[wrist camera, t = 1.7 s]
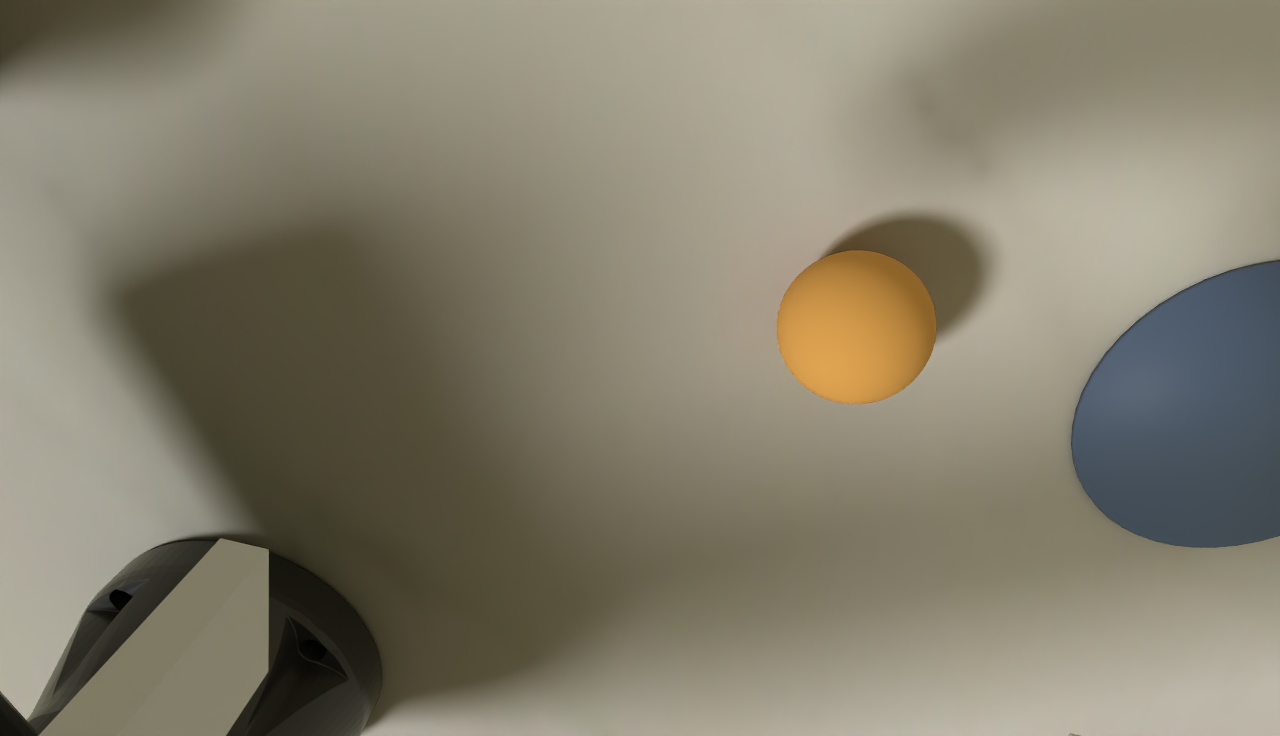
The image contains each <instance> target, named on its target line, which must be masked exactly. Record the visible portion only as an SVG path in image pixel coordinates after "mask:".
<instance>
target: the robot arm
mask: <svg viewBox="0 0 1280 736" xmlns="http://www.w3.org/2000/svg"><path fill="white" fill-rule="evenodd" d="M381 682H382V672H381V664H380V659H379V655H378V652H377V649H376V646H375V644H374V641H373V639H372V637H371V635H370V633H369V632H368V630H367V628H366V627H365V625H364V624H363V622H362V621H361V619H360V618H359V617H358V616H357V614H356V613H355V612H354V611H353V609H352V608H351V607H350V606H349V605H348V604H347V603H346V602H345V601H344V600H343V599H342V598H341V597H340V596H339V595H338V594H337V593H335V592H334V591H333V590H332V589H331V588H330V587H328V586H327V585H326V584H324V583H323V582H322V581H320V580H319V579H317V578H316V577H314V576H313V575H311V574H310V573H308V572H306V571H305V570H303V569H301V568H300V567H298V566H296V565H294V564H292V563H290V562H288V561H286V560H284V559H281V558H279V557H277V556H274V555H272V554H269V549H265V548H261V547H256V546H252V545H248V544H243V543H239V542H234V541H230V540H226V539H221V538H220V539H219V540H218V542H217V541H185V542H178V543H172V544H168V545H164V546H161V547H157V548H155V549H152V550H150V551H147V552H146V553H144V554H142V555H140V556H138V557H137V558H135V559H134V560H133V561H131V562H130V563H129V564H128V565H127V566H126V567H125V568H124V569H122V570H121V571H120V572H119V573H118V574H117V575H116V576H115V577H114V578H113V579H112V580H111V581H110V582H109V583H108V584H107V585H106V586H105V587H104V588H103V589H102V590H101V591H100V592H99V593H98V594H97V595H96V596H95V597H94V599H93V600H92V601H91V603H90V604H89V605H88V607H87V608H86V610H85V612H84V613H83V615H82V617H81V619H80V621H79V623H78V625H77V627H76V629H75V631H74V633H73V635H72V636H71V638H70V640H69V642H68V644H67V646H66V648H65V650H64V652H63V654H62V656H61V658H60V660H59V662H58V664H57V666H56V668H55V670H54V671H53V673H52V675H51V677H50V679H49V681H48V683H47V685H46V687H45V689H44V691H43V693H42V695H41V697H40V699H39V701H38V703H37V704H36V706H35V708H34V710H33V712H32V714H31V715H30V717H29V718H28V719H27V720H25V718H24V717H23V716H22V715H21V714H20V713H19V712H18V711H17V709H16V708H15V707H14V706H13V705H12V704H11V703H10V702H9V700H8V699H7V698H6V697H5V696H4V695H3V694H2V693H1V692H0V736H360V735H361V733H362V731H363V729H364V727H365V725H366V723H367V721H368V719H369V717H370V715H371V713H372V711H373V709H374V706H375V704H376V702H377V700H378V697H379V694H380V689H381ZM1069 736H1080V735H1075V734H1071V733H1070V734H1069Z"/></svg>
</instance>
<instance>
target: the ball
mask: <svg viewBox="0 0 1280 736" xmlns="http://www.w3.org/2000/svg"><path fill="white" fill-rule="evenodd" d="M936 330H937V325H936V315H935V309H934V305H933V302H932V299H931V297H930V295H929V293H928V291H927V289H926V287H925V286H924V284H923V283H922V281H921V280H920V279H919V277H918V276H917V275H915V274H914V273H913V272H912V271H911V270H910V269H909V268H908V267H907V266H905V265H904V264H902V263H901V262H899V261H897V260H895V259H894V258H891V257H889V256H886V255H883V254H880V253H876V252H872V251H863V250H854V251H845V252H839V253H836V254H832V255H829V256H827V257H824V258H822V259H820V260H818V261H816V262H815V263H813V264H812V265H810V266H809V267H808V268H806V269H805V270H804V271H803V272H802V273H800V274H799V275H798V276H797V277H796V279H795V280H794V281H793V282H792V283H791V285H790V286H789V288H788V290H787V291H786V293H785V295H784V297H783V300H782V302H781V305H780V309H779V312H778V318H777V339H778V345H779V348H780V352H781V354H782V357H783V359H784V361H785V363H786V365H787V367H788V368H789V370H790V371H791V373H792V374H793V375H794V376H795V377H796V379H797V380H798V381H799V382H800V383H801V384H803V385H804V386H805V387H806V388H808V389H809V390H811V391H812V392H814V393H815V394H817V395H819V396H821V397H823V398H826V399H828V400H831V401H835V402H840V403H847V404H865V403H872V402H876V401H880V400H883V399H885V398H888V397H890V396H892V395H894V394H896V393H898V392H899V391H901V390H902V389H904V388H905V387H907V386H908V385H909V384H910V383H911V382H912V381H913V380H914V379H915V378H916V377H917V376H918V375H919V374H920V372H921V371H922V370H923V368H924V367H925V365H926V363H927V362H928V360H929V358H930V355H931V353H932V351H933V347H934V343H935V338H936Z"/></svg>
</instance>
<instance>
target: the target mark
mask: <svg viewBox="0 0 1280 736" xmlns="http://www.w3.org/2000/svg"><path fill="white" fill-rule="evenodd" d="M1071 446H1072V454H1073V462H1074V465H1075V469H1076V472H1077V475H1078V478H1079V480H1080V482H1081V484H1082V486H1083V488H1084V490H1085V491H1086V493H1087V494H1088V495H1089V497H1090V498H1091V499H1092V501H1093V502H1094V503H1095V505H1096V506H1097V507H1098V508H1099V509H1100V510H1101V511H1102V512H1103V513H1104V514H1105V515H1106V516H1107V517H1108V518H1110V519H1111V520H1113V521H1114V522H1116V523H1117V524H1118V525H1120V526H1121V527H1123V528H1125V529H1127V530H1129V531H1131V532H1133V533H1135V534H1137V535H1139V536H1142V537H1145V538H1148V539H1151V540H1154V541H1157V542H1161V543H1166V544H1171V545H1176V546H1186V547H1226V546H1236V545H1242V544H1248V543H1253V542H1258V541H1262V540H1266V539H1269V538H1273V537H1277V536H1280V261H1274V262H1267V263H1261V264H1255V265H1251V266H1247V267H1243V268H1239V269H1235V270H1231V271H1228V272H1225V273H1223V274H1220V275H1217V276H1215V277H1212V278H1209V279H1206V280H1204V281H1202V282H1200V283H1198V284H1196V285H1193V286H1191V287H1189V288H1187V289H1185V290H1183V291H1181V292H1179V293H1178V294H1176V295H1174V296H1173V297H1171V298H1169V299H1168V300H1166V301H1164V302H1163V303H1161V304H1160V305H1158V306H1157V307H1155V308H1154V309H1153V310H1151V311H1150V312H1149V313H1147V314H1146V315H1145V316H1143V317H1142V318H1141V319H1139V320H1138V321H1137V322H1136V323H1135V324H1134V325H1133V326H1132V327H1130V328H1129V329H1128V330H1127V331H1126V332H1125V333H1124V334H1123V335H1122V336H1121V337H1120V338H1119V339H1118V340H1117V341H1116V342H1115V344H1114V345H1113V346H1112V347H1111V348H1110V349H1109V350H1108V351H1107V353H1106V354H1105V355H1104V357H1103V358H1102V359H1101V361H1100V362H1099V364H1098V365H1097V367H1096V368H1095V369H1094V371H1093V372H1092V374H1091V376H1090V378H1089V380H1088V382H1087V384H1086V386H1085V388H1084V389H1083V392H1082V394H1081V397H1080V400H1079V402H1078V405H1077V408H1076V412H1075V416H1074V421H1073V426H1072V442H1071Z"/></svg>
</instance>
